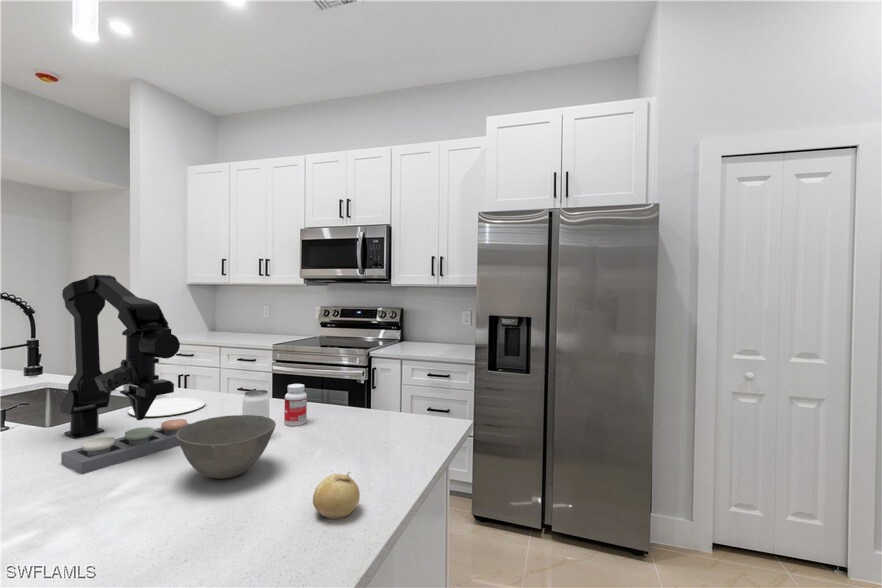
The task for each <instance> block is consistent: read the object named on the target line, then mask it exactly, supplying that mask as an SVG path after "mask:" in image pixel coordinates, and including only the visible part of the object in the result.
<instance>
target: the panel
mask: <svg viewBox="0 0 882 588" xmlns="http://www.w3.org/2000/svg"><path fill="white" fill-rule="evenodd" d="M189 424H190V423H188V422H187V425H189ZM178 446H180V445H179V443H178V441H177V439H176V434H174V435H170V436H166V435H165V430H162V429H161V427H157V428H153V435H152V436H150V437H149V441H148V442H144V443H141V444H137V445H133V446H130V445H129V440H126V439H125V436H122V437H118V438H115V445H114V446H112V447H111V452H108V453H104V454H100V455H97V456H93V457H89V458H88V451H84V450H83V446H82V447H78V448H74V449H71V450H65V451H63V452H61V455H60V456H61V457H60V459H61V460H60V463H61V465H63V466H65V467H67V468H68V469H71V470H73V471H74V472H76V473H79V475H84V474H87V473H90V472H94V471H97V470H101V469H104V468H107V467H111V466H114V465H117V464H122V463H123V462H127V461H130V460H133V459H137V458H141V457H144V456H147V455H151V454H155V453H158V452H161V451H164V450H168V449H171V448H175V447H178Z"/></svg>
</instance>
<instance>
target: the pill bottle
mask: <svg viewBox="0 0 882 588" xmlns="http://www.w3.org/2000/svg"><path fill="white" fill-rule="evenodd" d="M305 390H306V389H305V384H302V383H292V384H288V385H287V393H285V395H284V411H283V412H284V414H283V415H284V419H283V420H284V421H283V422H284V425H286V426H288V427H299V426H303V425H305V424H306V422H307V415H308V414H307V410H308V408H307V407H308V406H307V405H308V394H307V392H305Z"/></svg>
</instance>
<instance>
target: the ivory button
mask: <svg viewBox="0 0 882 588" xmlns="http://www.w3.org/2000/svg"><path fill="white" fill-rule="evenodd" d="M115 439H116V438H115V437H114V436H100V437H95V438H90V439H87V440H86V441H84V442H83V443H82V447H83V450H84V451H88V458H89V457H93V456H97V455H100V454H104V453H108V452H111V447H112V446H114V445H115Z"/></svg>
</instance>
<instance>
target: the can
mask: <svg viewBox="0 0 882 588" xmlns="http://www.w3.org/2000/svg"><path fill="white" fill-rule="evenodd" d="M268 392H269V391H268V390H266V389H254V390H248V391H245V392H244V395H243V398H242V406H241V407H242V408H241V409H242V410H241V412H242V414H241V415H257V416H263V417H268V418H270V396H269V394H268Z"/></svg>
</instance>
